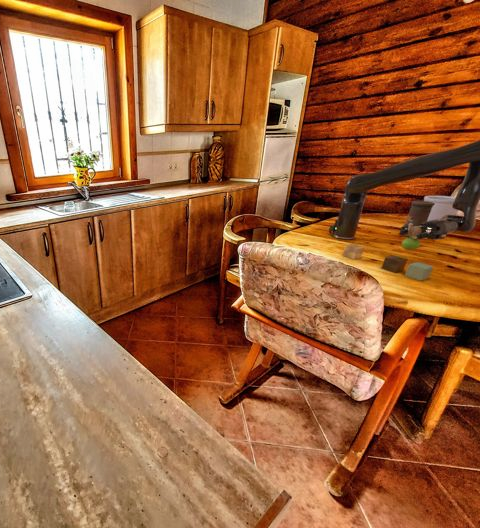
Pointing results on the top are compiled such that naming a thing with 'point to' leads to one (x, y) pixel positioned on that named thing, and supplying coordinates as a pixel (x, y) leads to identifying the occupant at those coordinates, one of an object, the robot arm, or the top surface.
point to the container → (419, 213)
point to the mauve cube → (353, 251)
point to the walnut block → (394, 263)
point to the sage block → (419, 271)
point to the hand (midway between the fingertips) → (409, 234)
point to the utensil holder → (441, 206)
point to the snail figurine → (412, 238)
